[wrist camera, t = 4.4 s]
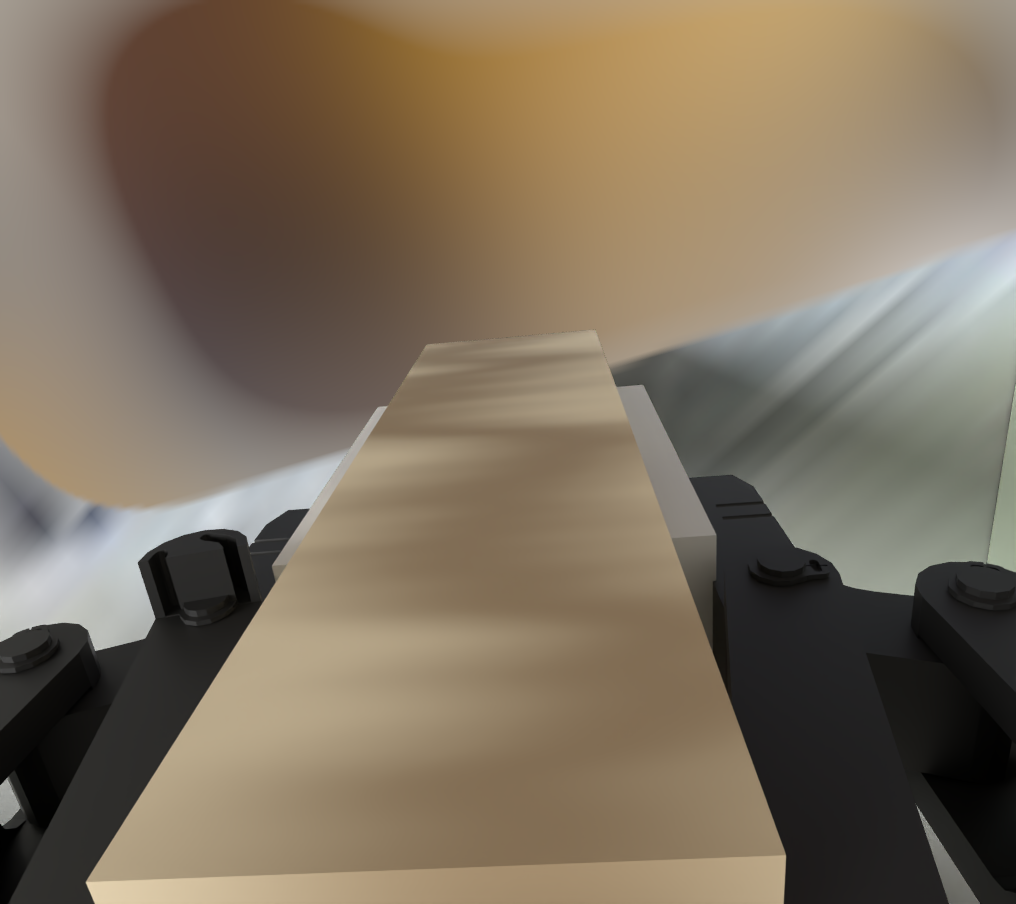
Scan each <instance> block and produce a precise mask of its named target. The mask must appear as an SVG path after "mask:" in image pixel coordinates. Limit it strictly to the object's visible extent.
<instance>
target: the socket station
mask: <svg viewBox="0 0 1016 904" xmlns="http://www.w3.org/2000/svg"><path fill="white" fill-rule="evenodd" d="M987 563H989V564H993V565H998V566H1001V567H1003V568H1004V569H1007V570H1010V571H1013V572H1016V385H1015V391H1014V397H1013V404H1012V410H1011V416H1010V422H1009V428H1008V435H1007V441H1006V447H1005V453H1004V460H1003V466H1002V472H1001V478H1000V484H999V491H998V497H997V503H996V509H995V516H994V522H993V528H992V534H991V540H990V547H989V553H988V559H987Z"/></svg>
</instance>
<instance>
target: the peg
mask: <svg viewBox="0 0 1016 904" xmlns="http://www.w3.org/2000/svg"><path fill="white" fill-rule="evenodd" d="M785 868H786V853H785V851H784V848H783V845H782V842H781V840H780V837H779V834H778V831H777V829H776V826H775V823H774V820H773V818H772V815H771V812H770V809H769V807H768V804H767V801H766V798H765V796H764V793H763V790H762V787H761V785H760V782H759V779H758V776H757V774H756V771H755V768H754V765H753V763H752V760H751V757H750V754H749V751H748V749H747V746H746V743H745V740H744V738H743V735H742V732H741V729H740V727H739V724H738V721H737V718H736V716H735V713H734V710H733V707H732V705H731V702H730V699H729V696H728V694H727V691H726V688H725V685H724V683H723V680H722V677H721V674H720V672H719V669H718V666H717V663H716V661H715V658H714V655H713V652H712V649H711V647H710V644H709V641H708V638H707V636H706V633H705V630H704V627H703V625H702V622H701V619H700V616H699V614H698V611H697V608H696V605H695V603H694V600H693V597H692V594H691V592H690V589H689V586H688V583H687V581H686V578H685V575H684V572H683V570H682V567H681V564H680V561H679V559H678V556H677V553H676V550H675V548H674V545H673V542H672V539H671V536H670V534H669V531H668V528H667V525H666V523H665V520H664V517H663V514H662V512H661V509H660V506H659V503H658V501H657V498H656V495H655V492H654V490H653V487H652V484H651V481H650V479H649V476H648V473H647V470H646V468H645V465H644V462H643V459H642V457H641V454H640V451H639V448H638V446H637V443H636V440H635V437H634V434H633V432H632V429H631V426H630V423H629V421H628V418H627V415H626V412H625V410H624V407H623V404H622V401H621V399H620V396H619V393H618V390H617V388H616V385H615V382H614V379H613V377H612V374H611V371H610V368H609V366H608V363H607V360H606V357H605V355H604V352H603V349H602V346H601V344H600V341H599V338H598V335H597V332H596V330H584V331H573V332H562V333H551V334H541V335H529V336H518V337H506V338H496V339H484V340H473V341H462V342H451V343H440V344H429V345H426V347H425V348H424V350H423V352H422V353H421V354H420V356H419V358H418V359H417V361H416V362H415V364H414V365H413V367H412V369H411V370H410V372H409V373H408V375H407V376H406V378H405V380H404V381H403V383H402V384H401V386H400V388H399V389H398V391H397V392H396V394H395V395H394V397H393V399H392V400H391V402H390V403H389V405H388V406H387V408H386V410H385V411H384V413H383V414H382V416H381V417H380V419H379V421H378V422H377V424H376V425H375V427H374V428H373V430H372V432H371V433H370V435H369V436H368V438H367V440H366V441H365V443H364V444H363V446H362V447H361V449H360V451H359V452H358V454H357V455H356V457H355V458H354V460H353V462H352V463H351V465H350V466H349V468H348V469H347V471H346V473H345V474H344V476H343V477H342V479H341V480H340V482H339V484H338V485H337V487H336V488H335V490H334V492H333V493H332V495H331V496H330V498H329V499H328V501H327V503H326V504H325V506H324V507H323V509H322V510H321V512H320V514H319V515H318V517H317V518H316V520H315V521H314V523H313V525H312V526H311V528H310V529H309V531H308V532H307V534H306V536H305V537H304V539H303V540H302V542H301V544H300V545H299V547H298V548H297V550H296V551H295V553H294V555H293V556H292V558H291V559H290V561H289V562H288V564H287V566H286V567H285V569H284V570H283V572H282V573H281V575H280V577H279V578H278V580H277V581H276V583H275V585H274V586H273V588H272V589H271V591H270V592H269V594H268V596H267V597H266V599H265V600H264V602H263V603H262V605H261V607H260V608H259V610H258V611H257V613H256V614H255V616H254V618H253V619H252V621H251V622H250V624H249V625H248V627H247V629H246V630H245V632H244V633H243V635H242V637H241V638H240V640H239V641H238V643H237V644H236V646H235V648H234V649H233V651H232V652H231V654H230V655H229V657H228V659H227V660H226V662H225V663H224V665H223V666H222V668H221V670H220V671H219V673H218V674H217V676H216V677H215V679H214V681H213V682H212V684H211V685H210V687H209V689H208V690H207V692H206V693H205V695H204V696H203V698H202V700H201V701H200V703H199V704H198V706H197V707H196V709H195V711H194V712H193V714H192V715H191V717H190V718H189V720H188V722H187V723H186V725H185V726H184V728H183V729H182V731H181V733H180V734H179V736H178V737H177V739H176V741H175V742H174V744H173V745H172V747H171V748H170V750H169V752H168V753H167V755H166V756H165V758H164V759H163V761H162V763H161V764H160V766H159V767H158V769H157V770H156V772H155V774H154V775H153V777H152V778H151V780H150V782H149V783H148V785H147V786H146V788H145V789H144V791H143V793H142V794H141V796H140V797H139V799H138V800H137V802H136V804H135V805H134V807H133V808H132V810H131V811H130V813H129V815H128V816H127V818H126V819H125V821H124V822H123V824H122V826H121V827H120V829H119V830H118V832H117V834H116V835H115V837H114V838H113V840H112V841H111V843H110V845H109V846H108V848H107V849H106V851H105V852H104V854H103V856H102V857H101V859H100V860H99V862H98V863H97V865H96V867H95V868H94V870H93V871H92V873H91V874H90V876H89V878H88V879H87V881H86V884H87V886H88V889H89V891H90V893H91V896H92V898H93V900H94V903H95V904H784V887H785Z"/></svg>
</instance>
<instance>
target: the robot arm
mask: <svg viewBox="0 0 1016 904" xmlns="http://www.w3.org/2000/svg"><path fill="white" fill-rule="evenodd" d="M616 388H617V390H618V393H619V396H620V399H621V401H622V404H623V407H624V410H625V412H626V415H627V418H628V421H629V423H630V426H631V429H632V432H633V434H634V437H635V440H636V443H637V446H638V448H639V451H640V454H641V457H642V459H643V462H644V465H645V468H646V470H647V473H648V476H649V479H650V481H651V484H652V487H653V490H654V492H655V495H656V498H657V501H658V503H659V506H660V509H661V512H662V514H663V517H664V520H665V523H666V525H667V528H668V531H669V534H670V536H671V539H672V542H673V545H674V548H675V550H676V553H677V556H678V559H679V561H680V564H681V567H682V570H683V572H684V575H685V578H686V581H687V583H688V586H689V589H690V592H691V594H692V597H693V600H694V603H695V605H696V608H697V611H698V614H699V616H700V619H701V622H702V625H703V627H704V630H705V633H706V636H707V638H708V641H709V644H710V647H711V649H712V652H713V655H714V658H715V661H716V663H717V666H718V669H719V672H720V674H721V677H722V680H723V683H724V685H725V688H726V691H727V694H728V696H729V699H730V702H731V705H732V707H733V710H734V713H735V716H736V718H737V721H738V724H739V727H740V729H741V732H742V735H743V738H744V740H745V743H746V746H747V749H748V751H749V754H750V757H751V760H752V763H753V765H754V768H755V771H756V774H757V776H758V779H759V782H760V785H761V787H762V790H763V793H764V796H765V798H766V801H767V804H768V807H769V809H770V812H771V815H772V818H773V820H774V823H775V826H776V829H777V831H778V834H779V837H780V840H781V842H782V845H783V848H784V851H785V853H786V868H785V887H784V904H949V903H948V900H947V897H946V894H945V891H944V888H943V885H942V882H941V879H940V876H939V873H938V870H937V867H936V864H935V861H934V858H933V855H932V851H931V848H930V845H929V842H928V839H927V836H926V833H925V830H924V827H923V824H922V821H921V818H920V815H919V812H918V809H917V806H918V808H919V809H920V811H921V812H922V814H923V815H924V817H925V819H926V820H927V822H928V823H929V825H930V826H931V828H932V829H933V831H934V833H935V834H936V836H937V837H938V839H939V840H940V842H941V843H942V845H943V846H944V848H945V850H946V851H947V853H948V854H949V856H950V857H951V859H952V860H953V862H954V864H955V865H956V867H957V868H958V870H959V871H960V873H961V874H962V876H963V877H964V879H965V881H966V882H967V884H968V885H969V887H970V888H971V890H972V891H973V893H974V895H975V896H976V898H977V899H978V901H979V902H980V904H1016V572H1013V571H1010V570H1007V569H1004V568H1003V567H1001V566H998V565H993V564H989V563H987V565H986V564H983V562H973V561H969V562H947V563H942V564H937V565H933V566H929V567H928V568H926V569H925V570H923V571H922V572H920V573H919V574H918V577H917V580H916V584H915V592H914V596H909V595H900V594H891V593H882V592H873V591H867V590H861V589H856V588H852V587H848V586H845V585H843V583H842V580H841V577H840V574H839V572H838V571H837V570H836V568H835V567H834V566H833V564H832V563H831V562H829V561H828V560H826V559H824V558H823V557H821V556H819V555H818V554H815V553H812V552H809V551H806V550H802V549H799V548H795V547H794V546H793V544H792V543H791V541H790V540H789V538H788V537H787V535H786V534H785V532H784V531H783V529H782V528H781V526H780V525H779V524H778V522H777V521H776V519H775V518H774V516H772V514H771V512H770V510H769V509H768V507H767V506H766V504H763V500H762V498H761V497H760V496H759V494H758V493H757V491H756V490H755V488H754V487H753V486H752V485H750V484H748V483H746V482H744V481H742V480H741V479H739V478H737V477H735V476H733V475H724V476H710V477H697V478H688V476H687V474H686V472H685V470H684V467H683V465H682V463H681V461H680V459H679V457H678V455H677V453H676V451H675V449H674V447H673V445H672V443H671V441H670V439H669V437H668V435H667V433H666V431H665V429H664V427H663V424H662V422H661V420H660V418H659V416H658V414H657V412H656V410H655V408H654V406H653V404H652V402H651V400H650V398H649V396H648V394H647V392H646V390H645V388H644V386H643V385H634V386H622V387H616ZM386 408H387V407H386V406H385V407H378V408H377V410H376V411H375V413H374V414H373V416H372V417H371V418H370V420H369V421H368V423H367V424H366V426H365V427H364V429H363V430H362V432H361V434H360V435H359V436H358V438H357V439H356V441H355V442H354V444H353V445H352V447H351V448H350V450H349V451H348V453H347V454H346V456H345V457H344V459H343V460H342V462H341V463H340V465H339V466H338V468H337V469H336V471H335V472H334V474H333V475H332V477H331V478H330V480H329V481H328V483H327V484H326V486H325V487H324V489H323V490H322V492H321V493H320V495H319V496H318V498H317V499H316V501H315V502H314V504H313V505H312V507H311V508H310V509H299V510H288V511H286V512H285V513H283V514H282V515H280V516H279V517H277V518H276V519H274V520H273V521H271V522H270V523H268V524H267V525H266V526H265V527H264V528H263V530H262V531H261V532H260V534H259V535H258V536H257V538H256V539H255V543H252V544H251V546H250V547H249V546H248V542H247V538H246V536H245V535H243V534H241V533H240V532H238V531H234V530H227V529H216V530H204V531H200V532H196V533H191V534H187V535H183V536H181V537H178V538H175V539H173V540H170V541H168V542H165V543H163V544H161V545H160V546H158V547H156V548H154V549H153V550H151V551H149V552H148V553H147V554H146V555H145V556H144V557H143V558H142V559H141V560H140V561H139V562H138V565H139V568H140V571H141V574H142V577H143V581H144V584H145V587H146V590H147V593H148V596H149V599H150V602H151V606H152V609H153V612H154V615H155V618H156V619H155V621H154V623H153V625H152V627H151V629H150V631H149V633H148V635H147V637H146V639H143V640H139V641H135V642H131V643H127V644H123V645H119V646H115V647H111V648H107V649H103V650H98V651H95V649H94V647H93V644H92V641H91V638H90V636H89V633H88V630H87V629H85V628H84V627H82V626H81V625H79V624H71V623H58V624H52V625H40V626H36V627H32V629H31V630H29V628H28V629H26V630H23V631H20V632H17V633H16V634H14V635H13V636H12V637H10V638H8V639H6V640H4V641H2V642H0V785H1V784H2V783H3V782H4V781H5V780H6V778H8V781H9V783H10V785H11V787H12V789H13V792H14V794H15V796H16V798H17V801H18V803H19V805H20V807H21V808H20V810H19V811H18V812H17V813H16V814H15V816H14V817H13V818H12V819H11V820H10V821H8V822H7V823H6V824H5V825H3V826H2V825H1V824H0V904H95V903H94V900H93V898H92V896H91V893H90V891H89V889H88V886H87V884H86V881H87V879H88V878H89V876H90V874H91V873H92V871H93V870H94V868H95V867H96V865H97V863H98V862H99V860H100V859H101V857H102V856H103V854H104V852H105V851H106V849H107V848H108V846H109V845H110V843H111V841H112V840H113V838H114V837H115V835H116V834H117V832H118V830H119V829H120V827H121V826H122V824H123V822H124V821H125V819H126V818H127V816H128V815H129V813H130V811H131V810H132V808H133V807H134V805H135V804H136V802H137V800H138V799H139V797H140V796H141V794H142V793H143V791H144V789H145V788H146V786H147V785H148V783H149V782H150V780H151V778H152V777H153V775H154V774H155V772H156V770H157V769H158V767H159V766H160V764H161V763H162V761H163V759H164V758H165V756H166V755H167V753H168V752H169V750H170V748H171V747H172V745H173V744H174V742H175V741H176V739H177V737H178V736H179V734H180V733H181V731H182V729H183V728H184V726H185V725H186V723H187V722H188V720H189V718H190V717H191V715H192V714H193V712H194V711H195V709H196V707H197V706H198V704H199V703H200V701H201V700H202V698H203V696H204V695H205V693H206V692H207V690H208V689H209V687H210V685H211V684H212V682H213V681H214V679H215V677H216V676H217V674H218V673H219V671H220V670H221V668H222V666H223V665H224V663H225V662H226V660H227V659H228V657H229V655H230V654H231V652H232V651H233V649H234V648H235V646H236V644H237V643H238V641H239V640H240V638H241V637H242V635H243V633H244V632H245V630H246V629H247V627H248V625H249V624H250V622H251V621H252V619H253V618H254V616H255V614H256V613H257V611H258V610H259V608H260V607H261V605H262V603H263V602H264V600H265V599H266V597H267V596H268V594H269V592H270V591H271V589H272V588H273V586H274V585H275V583H276V581H277V580H278V578H279V577H280V575H281V573H282V572H283V570H284V569H285V567H286V566H287V564H288V562H289V561H290V559H291V558H292V556H293V555H294V553H295V551H296V550H297V548H298V547H299V545H300V544H301V542H302V540H303V539H304V537H305V536H306V534H307V532H308V531H309V529H310V528H311V526H312V525H313V523H314V521H315V520H316V518H317V517H318V515H319V514H320V512H321V510H322V509H323V507H324V506H325V504H326V503H327V501H328V499H329V498H330V496H331V495H332V493H333V492H334V490H335V488H336V487H337V485H338V484H339V482H340V480H341V479H342V477H343V476H344V474H345V473H346V471H347V469H348V468H349V466H350V465H351V463H352V462H353V460H354V458H355V457H356V455H357V454H358V452H359V451H360V449H361V447H362V446H363V444H364V443H365V441H366V440H367V438H368V436H369V435H370V433H371V432H372V430H373V428H374V427H375V425H376V424H377V422H378V421H379V419H380V417H381V416H382V414H383V413H384V411H385V410H386ZM916 805H917V806H916Z"/></svg>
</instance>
